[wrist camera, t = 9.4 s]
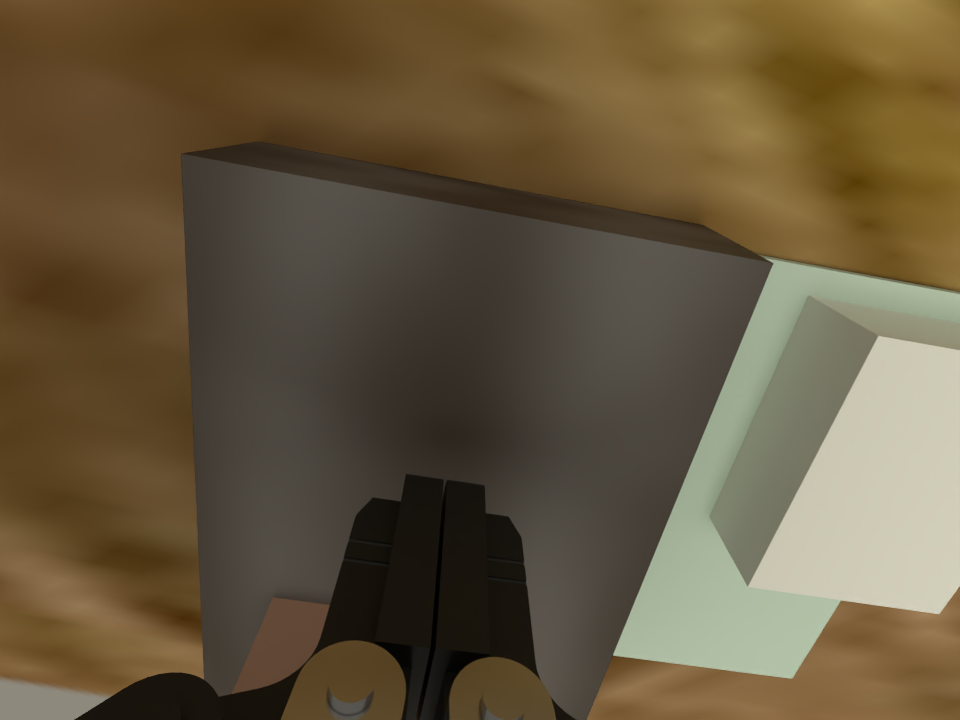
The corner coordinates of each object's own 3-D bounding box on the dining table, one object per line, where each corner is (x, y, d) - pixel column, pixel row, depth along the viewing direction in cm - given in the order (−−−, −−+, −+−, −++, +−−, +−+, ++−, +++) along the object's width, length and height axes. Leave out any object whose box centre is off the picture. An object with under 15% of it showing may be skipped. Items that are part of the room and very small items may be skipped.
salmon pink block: (269, 710, 18) (230, 821, 15) (272, 597, 15) (228, 702, 13) (456, 731, 18) (451, 844, 15) (483, 624, 16) (483, 732, 13)
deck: (253, 608, 21) (205, 712, 18) (258, 141, 14) (181, 153, 11) (557, 648, 22) (571, 754, 18) (703, 225, 15) (773, 262, 11)
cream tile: (939, 614, 16) (874, 541, 19) (1113, 377, 13) (1005, 331, 16) (748, 587, 16) (709, 517, 19) (878, 335, 13) (808, 295, 15)
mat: (572, 641, 22) (574, 650, 22) (714, 246, 15) (719, 249, 15) (787, 669, 23) (792, 678, 22) (1012, 301, 16) (1024, 306, 16)
